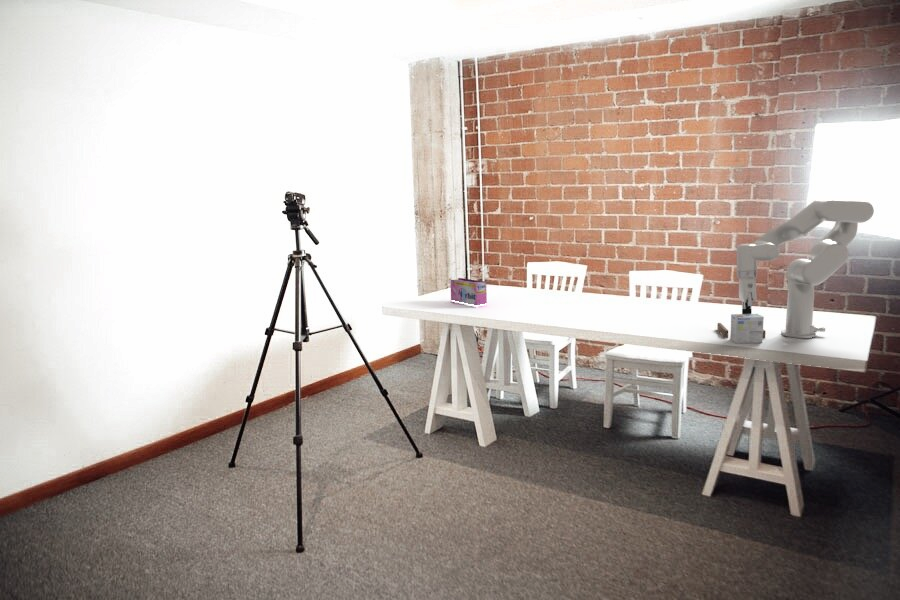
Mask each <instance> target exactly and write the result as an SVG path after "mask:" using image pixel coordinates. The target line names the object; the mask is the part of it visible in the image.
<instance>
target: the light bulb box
mask: <svg viewBox="0 0 900 600" xmlns="http://www.w3.org/2000/svg"><path fill="white" fill-rule="evenodd" d="M764 318H765V317H764V316H763V315H761V314H758V313H751V314H742V313H740V314H739V313H736V314H733V313H731V314H730V337H729V338H730V339H729V340H730V341H731V342H733V343H735V344H748V343H749V344H752V343H753V344H758V343H759V344H761V343H763V339H764V338H763V329H764Z"/></svg>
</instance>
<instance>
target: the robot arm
mask: <svg viewBox="0 0 900 600" xmlns="http://www.w3.org/2000/svg"><path fill="white" fill-rule="evenodd" d="M874 212H875V210H874V206H873V204H871V202H869V201H866V200H859V199H858V200H857V199H856V200H854V199H847V200H846V199H845V200H844V199H834V198H819V199H816V200H814V201H812V202H811V203H809V204H808V205H807V206H805V207H804V208H803V209H801V210H800V211H799V212H797V214H795V215H793V216H792V217H791V218H790V219H788V220H787V221H785V222H783V223H780V225H778V226H775V227H774V228H772V229H770V230H767V232H765V233H764V234H763V235H762V236H760V237H759V238H757V239H756V240H755V241H754V242H753V243H741V244H738V245H737V246H736V279H738V298H739V300H740V301H741V303H742V304H741V308H742V309H741V314H752V306H753V303H757V301H758V300H757V299H758V294H757V282H756V281H757V280H756V279H757V278H758V262H773V261H775V260H777V259H778V258H779V257H780V255H781V249H780V247H779V246H780V245H782V244H785V243H786V242H787V243H788V242H790V241H794V240H797V239H798V240H799V239H800V238H803V237H805V236H806V235H808V234H809V233H810V232H811V231H813V230H814V229H816V227H818V226H819V225H820V224H823V222H835V223H834V225H833V228H831V229H830V230H829V231H828V233H826V234H825V235H824V236H823V237H821V238H820V239H819V241H817V242H815V244H814V245H813V246H812V247H811V248H810V251H809V252H810V253H809V256H810V258H811V259H812V260H811V259H808V258H796V259H794V260H793V261H791V262H790V263H789V265H788V266H787V270H786V278H787V300H786V301H787V302H786V318H785V320H786V321H785V329H782V330H781V332H780V334H781V335H783V336H784V337H787V338H792V339H793V338H794V339H795V338H796V339H812V337H813V338H815V337H816V336H817V332H823V333H824V332H826V326H819V325H818V326H817V325H814V324H813V318H814V302H815V286H818V285H821V284H822V283H824V282H825V281H826V280H827V279H829V278H830V277H831V276H833V274H834V273H835V272H837V271H838V270H839V269H840V268H841V267H842V266H843V265H844V264H845V263H846V262H847V260H848V258H849V248H848V246H849V244H850V243H852V241H853V240H854V239H855V237H856V236H857V233H858V226H859V224H862V223H866V222H868V221H869V220H871V218H872V217H873V216H874ZM752 302H753V303H752Z"/></svg>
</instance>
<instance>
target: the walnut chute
mask: <svg viewBox="0 0 900 600" xmlns="http://www.w3.org/2000/svg"><path fill="white" fill-rule="evenodd" d="M716 330H717V331H718V332H719V334H721V335H722V336H723V337H724V338H725V339H728V338H729V330H728V329H727V328H726V326H725V325H723V323H721V322H717V329H716ZM763 339H766V330H765V329H764V328H763Z"/></svg>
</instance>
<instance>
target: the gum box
mask: <svg viewBox="0 0 900 600" xmlns="http://www.w3.org/2000/svg"><path fill="white" fill-rule="evenodd" d="M449 280H450V301H451V300H455V301H459V302H464V303H468V304H474V305H480V304H485V303H487V304H488V301H487V297H488V296H487V293H488V292H487V281H485V280H476V279H471V278H470V279H469V278H463V277H458V278H457V279H449Z"/></svg>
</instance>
